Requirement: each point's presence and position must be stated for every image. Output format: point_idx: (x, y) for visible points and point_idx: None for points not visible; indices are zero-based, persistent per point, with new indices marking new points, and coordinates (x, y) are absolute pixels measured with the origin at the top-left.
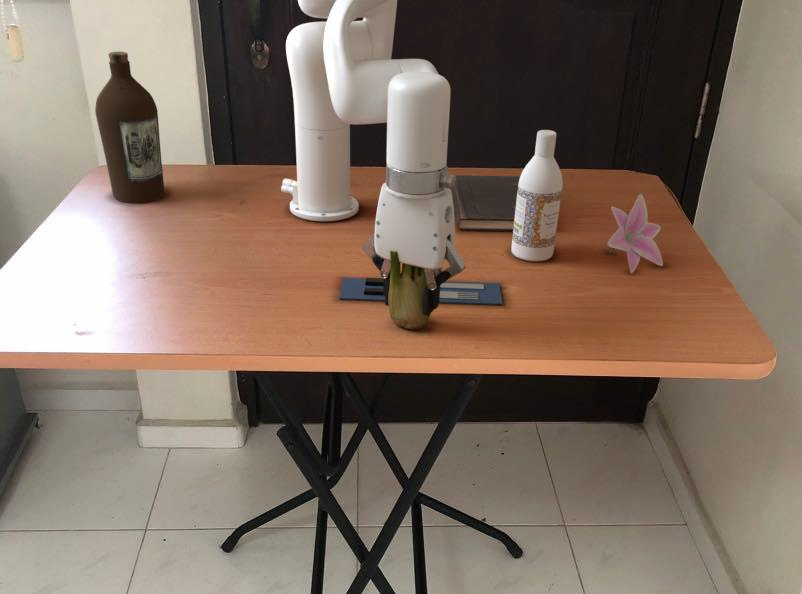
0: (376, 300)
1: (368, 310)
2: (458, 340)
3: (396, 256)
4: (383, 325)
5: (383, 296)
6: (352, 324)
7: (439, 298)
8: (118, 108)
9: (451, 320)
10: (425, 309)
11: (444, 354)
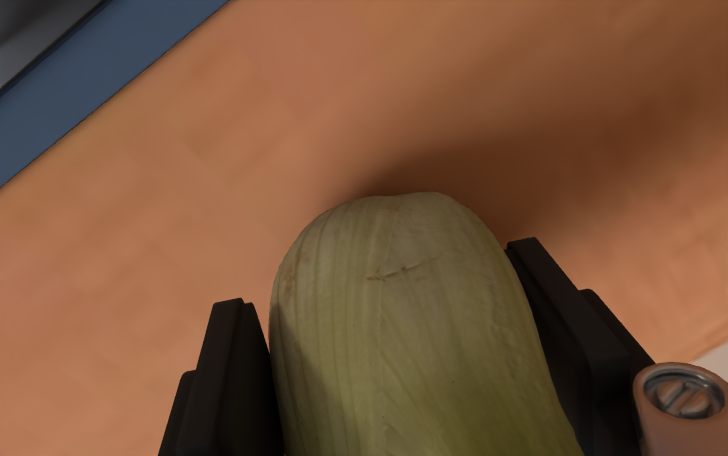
0: (10, 177)
1: (84, 289)
2: (667, 230)
3: None
4: None
5: (2, 121)
6: (152, 431)
7: (609, 312)
8: None
9: (540, 69)
10: None
11: (655, 362)
